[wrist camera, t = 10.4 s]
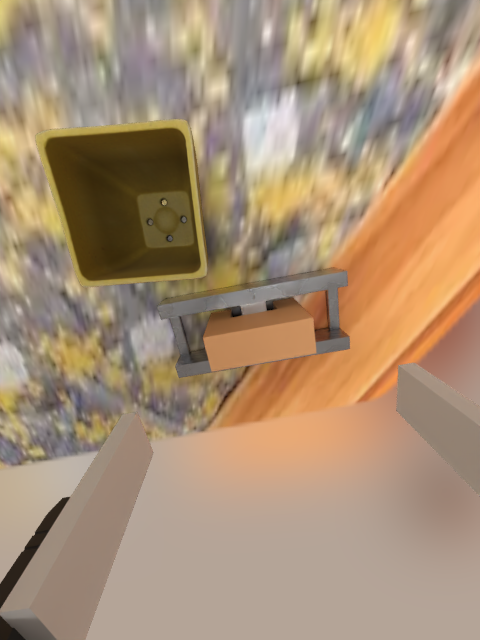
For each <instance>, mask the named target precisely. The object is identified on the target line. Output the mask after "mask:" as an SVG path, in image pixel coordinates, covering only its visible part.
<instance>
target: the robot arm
mask: <svg viewBox="0 0 480 640" xmlns="http://www.w3.org/2000/svg"><path fill="white" fill-rule="evenodd" d="M396 411H397V412H398V413H399V414H400V415H401V416H402V417H403V418H404V419H405V420H406V421H407V422H408V423H409V424H410V425H411V426H412V427H413V428H414V429H415V430H416V431H417V432H418V433H419V435H420V436H421V437H422V438H423V439H424V440H425V441H426V442H427V443H428V444H429V445H430V446H431V447H432V448H433V449H434V450H435V451H436V452H437V453H438V454H439V455H440V456H441V457H442V458H443V459H444V460H445V461H446V462H447V463H448V464H449V465H450V466H451V467H452V468H453V469H454V471H455V472H457V474H458V475H459V476H460V477H461V478H462V479H463V480H464V481H465V482H466V483H467V484H468V485H469V486H470V487H471V488H472V489H473V490H474V491H475V492H476V493H477V494H478V495H479V496H480V406H479V405H477V404H476V403H474V402H473V401H471V400H469V399H468V398H467V397H465V396H463V395H462V394H460V393H459V392H457V391H456V390H454V389H453V388H451V387H450V386H448V385H447V384H445V383H444V382H442V381H441V380H439V379H438V378H436V377H435V376H433V375H432V374H430V373H429V372H427V371H426V370H424V369H423V368H421V367H420V366H418V365H417V364H415V363H409V364H404V365H398V387H397V409H396ZM152 455H153V450H152V448H151V446H150V443H149V440H148V438H147V435H146V433H145V430H144V428H143V425H142V423H141V420H140V418H139V415H138V412H132V413H127V414H122V416H121V417H120V419H119V420H118V422H117V424H116V425H115V427H114V428H113V430H112V432H111V433H110V435H109V436H108V438H107V440H106V441H105V443H104V444H103V446H102V448H101V449H100V451H99V452H98V454H97V456H96V457H95V459H94V460H93V462H92V464H91V465H90V467H89V468H88V470H87V472H86V473H85V475H84V476H83V478H82V479H81V481H80V483H79V484H78V486H77V488H76V489H75V491H74V492H73V494H72V495H71V497H66V498H62V499H61V501H59V503H58V504H56V506H55V507H54V508H53V509H52V510H51V511H50V512H49V513H48V514H47V515H46V517H45V518H44V520H43V521H42V523H41V524H40V526H39V527H38V529H37V530H36V532H35V535H34V536H32V538H31V539H30V541H29V542H28V544H27V545H26V546H25V550H24V551H23V552H21V554H20V556H19V557H18V558H17V560H16V561H15V563H14V564H13V566H12V567H11V569H10V570H9V572H8V573H7V575H6V576H5V578H4V579H3V581H2V582H1V584H0V640H85V639H86V636H87V633H88V631H89V628H90V625H91V622H92V620H93V617H94V614H95V611H96V609H97V606H98V603H99V601H100V598H101V595H102V592H103V590H104V587H105V584H106V581H107V578H108V576H109V573H110V570H111V568H112V565H113V562H114V559H115V557H116V554H117V551H118V549H119V546H120V543H121V540H122V537H123V535H124V532H125V529H126V527H127V524H128V521H129V518H130V516H131V513H132V510H133V508H134V505H135V502H136V499H137V497H138V494H139V491H140V488H141V485H142V483H143V480H144V477H145V475H146V472H147V469H148V466H149V464H150V461H151V458H152Z"/></svg>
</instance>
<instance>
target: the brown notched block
mask: <svg viewBox="0 0 480 640" xmlns="http://www.w3.org/2000/svg"><path fill="white" fill-rule="evenodd" d="M273 306H274V310H269V311H264V312H258V313H253V314H248V315H242V316H237V317H233V316H232V311H231V309H229V310H224V311H218V312H213V313H211V315H210V318H209V321H208V324H207V327H206V330H205V333H204V336H203V341H204V344H205V348H206V352H207V356H208V360H209V364H210V367H211V371H212V372H213V371H219V370H225V369H230V368H236V367H242V366H247V365H253V364H259V363H264V362H270V361H276V360H281V359H287V358H293V357H299V356H304V355H310V354H316V342H315V331H314V320H313V317H312V316H311V315H310V314H309V313H308V312H307V311H306V310H305V309H304V308H303V307H302V306H301V305H300V304H299V303H298V302H297V301H296V300H295V299H294V298H288V299H283V300H277V301H273Z"/></svg>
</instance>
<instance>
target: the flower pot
mask: <svg viewBox="0 0 480 640" xmlns="http://www.w3.org/2000/svg"><path fill="white" fill-rule="evenodd" d="M35 141H36V145H37V149H38V152H39V155H40V159H41V162H42V165H43V168H44V171H45V174H46V177H47V180H48V183H49V186H50V189H51V192H52V195H53V198H54V201H55V204H56V207H57V210H58V214H59V217H60V220H61V224H62V227H63V231H64V234H65V238H66V242H67V246H68V249H69V253H70V256H71V260H72V263H73V267H74V271H75V274H76V276H77V278H78V281H79V283H80V285H81V286H82V287H98V286H108V285H120V284H132V283H145V282H159V281H171V280H185V279H197V278H203V277H205V276H206V275H207V271H208V254H207V247H206V239H205V231H204V223H203V214H202V205H201V195H200V186H199V176H198V167H197V159H196V153H195V147H194V142H193V136H192V132H191V128H190V126H189V124H188V122H187V121H186V120H183V119H169V120H157V121H149V122H139V123H128V124H118V125H106V126H95V127H77V128H62V129H50V130H45V131H42V132H40V133H38V134H36V135H35ZM162 199H165V200H166V201H167V204H166V205H165V206H164V205H162V204H161V200H162ZM183 216H184V217H186V219H187V221H186V222H185V223H183V222H182V221H181V217H183ZM148 219H152V220H153V224H152V225H149V224H148V222H147V221H148ZM169 235H170V236H172V238H173V240H172V241H168V240H167V236H169Z"/></svg>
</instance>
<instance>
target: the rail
mask: <svg viewBox="0 0 480 640" xmlns="http://www.w3.org/2000/svg"><path fill="white" fill-rule="evenodd" d="M344 286H348V280H347V271H346V270H342V269H338V268H328V269H323V270H318V271H312V272H307V273H301V274H296V275H291V276H285V277H280V278H274V279H269V280H263V281H258V282H253V283H247V284H242V285H236V286H231V287H225V288H220V289H215V290H209V291H204V292H198V293H193V294H188V295H182V296H177V297H171V298H166V299H165V300H163V301H162V302H161V303H160V304H158V305H157V308H158V311H159V315H160V318H161V320H162V319H167V318H170V321H171V325H172V328H173V332H174V335H175V338H176V342H177V345H178V349H179V352H180V355H181V356H180V358H179V360H178V362H177V364H176V366H175V367H176V370H177V373H178V377H179V378H181V377H187V376H193V375H199V374H205V373H210V372H212V371H211V367H210V364H209V360H208V356H207V352H206V349H203V350H197V351H192V352H190V349H189V346H188V342H187V339H186V335H185V331H184V328H183V324H182V321H181V317H180V316H184V315H189V314H195V313H200V312H206V311H211V310H217V309H223V308H228V307H234V306H239V305H240V306H241V311H242V315H248V314H253V313H258V312H264V311H267V309H266V302H265V301H267V300H272V299H278V298H283V297H289V296H294V295H300V294H306V293H311V292H317V291H322V290H326V300H327V315H328V328H324V329H318V330H314V331H315V342H316V354H310V355H304V356H299V357H305V356H311V355H317V354H323V353H328V352H334V351H340V350H346V349H350V339H349V336H348V335H347V334H346V333H345V332H344V331H342V330H341V329H340V328H339V309H338V288H339V287H344ZM299 357H293V358H299ZM293 358H287V359H293ZM287 359H281V360H287ZM281 360H276V361H281ZM270 362H275V361H270ZM264 363H269V362H264ZM264 363H259V364H264ZM253 365H258V364H253ZM247 366H252V365H247ZM242 367H246V366H242ZM236 368H240V367H236ZM230 369H234V368H230ZM225 370H228V369H225ZM219 371H222V370H219ZM213 372H216V371H213Z"/></svg>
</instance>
